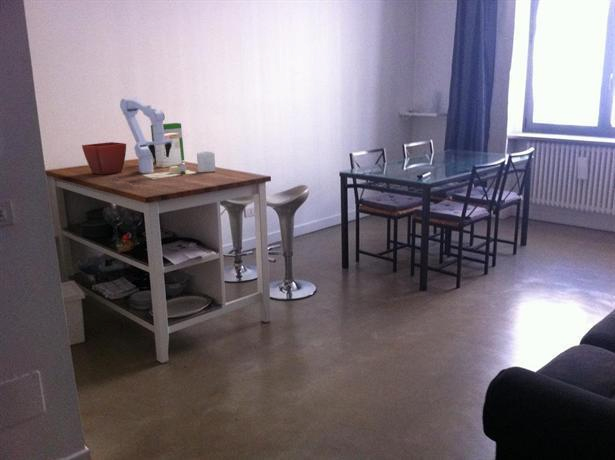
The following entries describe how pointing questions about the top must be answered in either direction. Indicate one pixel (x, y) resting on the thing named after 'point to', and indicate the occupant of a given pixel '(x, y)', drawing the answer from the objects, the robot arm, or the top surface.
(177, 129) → the green white carton
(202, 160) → the white rounded block
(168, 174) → the subfloor board
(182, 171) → the silver metal cylinder
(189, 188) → the top surface
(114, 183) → the top surface
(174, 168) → the cream rectangular block
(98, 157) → the plant pot
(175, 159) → the coffeecake box
